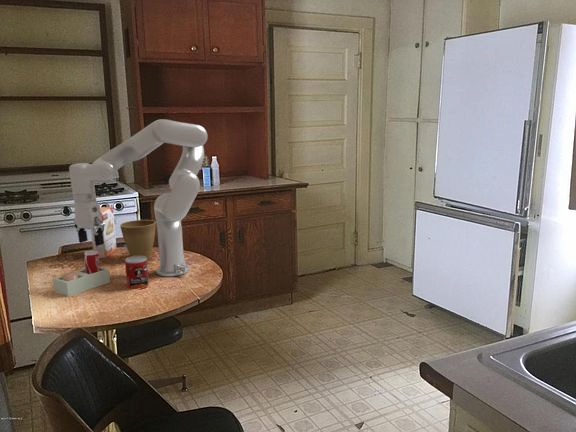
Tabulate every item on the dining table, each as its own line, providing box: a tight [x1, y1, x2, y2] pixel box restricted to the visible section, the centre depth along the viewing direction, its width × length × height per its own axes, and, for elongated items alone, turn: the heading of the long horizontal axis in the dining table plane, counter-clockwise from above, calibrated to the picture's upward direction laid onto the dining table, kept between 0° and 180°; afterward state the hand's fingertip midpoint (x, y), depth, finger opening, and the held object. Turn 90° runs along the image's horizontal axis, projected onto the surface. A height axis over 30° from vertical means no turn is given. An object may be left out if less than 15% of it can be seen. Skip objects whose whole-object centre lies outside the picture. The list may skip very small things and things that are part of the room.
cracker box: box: [91, 206, 117, 259], centre depth 225 cm, size 14×6×21 cm, turn 179°
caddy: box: [52, 266, 111, 297], centre depth 183 cm, size 8×17×6 cm, turn 146°
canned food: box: [124, 255, 150, 291], centre depth 183 cm, size 8×8×11 cm
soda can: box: [83, 249, 101, 274], centre depth 186 cm, size 5×5×12 cm
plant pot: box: [119, 219, 157, 260], centre depth 218 cm, size 15×15×16 cm
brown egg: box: [61, 271, 78, 281], centre depth 179 cm, size 5×5×6 cm
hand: (91, 243), depth 184 cm, fingers open, 9 cm apart
